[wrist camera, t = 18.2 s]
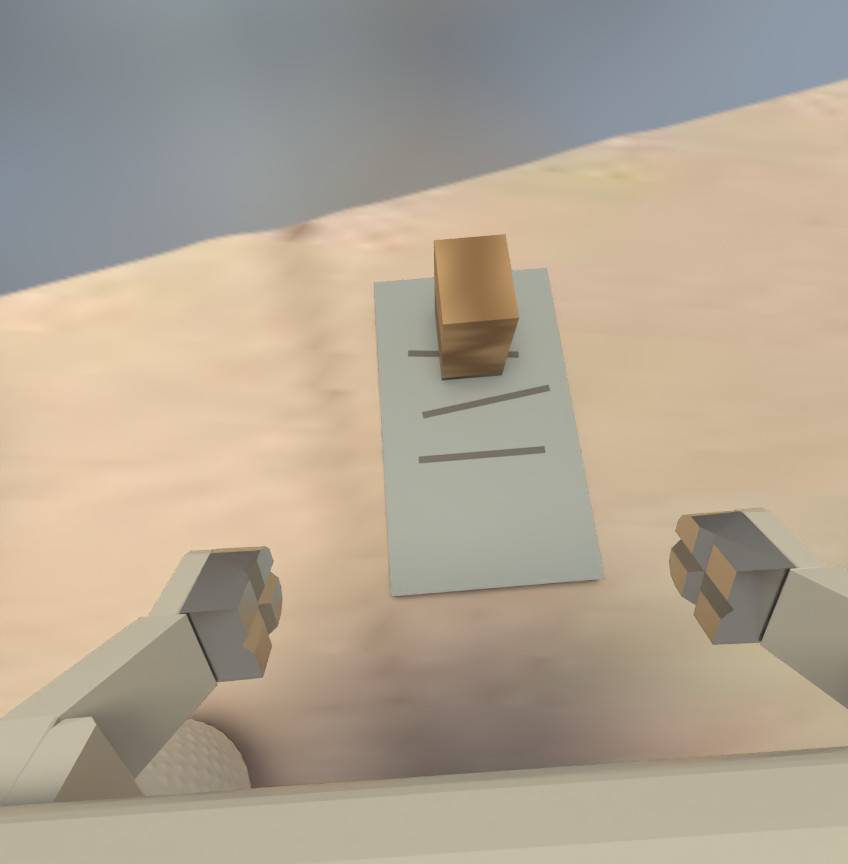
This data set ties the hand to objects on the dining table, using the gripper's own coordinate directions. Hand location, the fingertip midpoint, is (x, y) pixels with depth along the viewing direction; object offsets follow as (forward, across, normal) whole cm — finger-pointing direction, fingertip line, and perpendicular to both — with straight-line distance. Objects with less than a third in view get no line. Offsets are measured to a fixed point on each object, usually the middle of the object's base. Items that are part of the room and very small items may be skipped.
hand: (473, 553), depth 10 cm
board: (+25, +3, -10) cm, 27 cm away
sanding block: (+28, +3, -5) cm, 29 cm away
